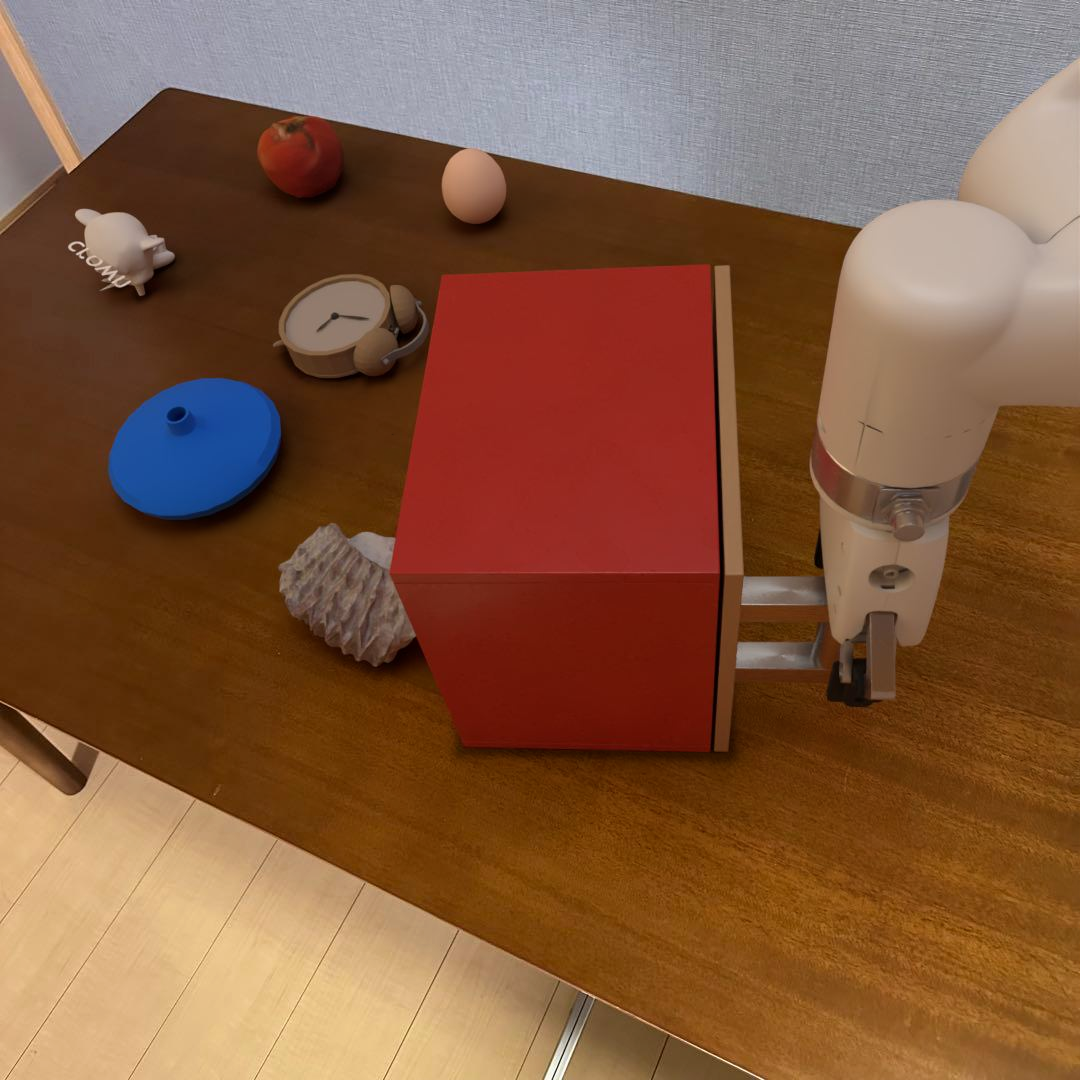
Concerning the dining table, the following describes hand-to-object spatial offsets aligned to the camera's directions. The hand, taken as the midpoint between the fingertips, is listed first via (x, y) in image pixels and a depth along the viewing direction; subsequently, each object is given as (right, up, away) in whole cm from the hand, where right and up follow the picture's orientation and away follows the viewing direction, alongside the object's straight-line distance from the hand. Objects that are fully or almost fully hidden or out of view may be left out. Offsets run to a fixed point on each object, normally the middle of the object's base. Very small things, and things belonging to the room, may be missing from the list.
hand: (846, 628), depth 64 cm
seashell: (-32, 0, +21) cm, 39 cm away
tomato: (-44, +45, +54) cm, 83 cm away
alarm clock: (-36, +25, +39) cm, 59 cm away
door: (-1, 0, +17) cm, 17 cm away
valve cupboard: (-15, 0, +19) cm, 24 cm away
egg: (-25, +40, +48) cm, 67 cm away
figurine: (-61, +33, +48) cm, 84 cm away
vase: (-49, +12, +32) cm, 60 cm away
